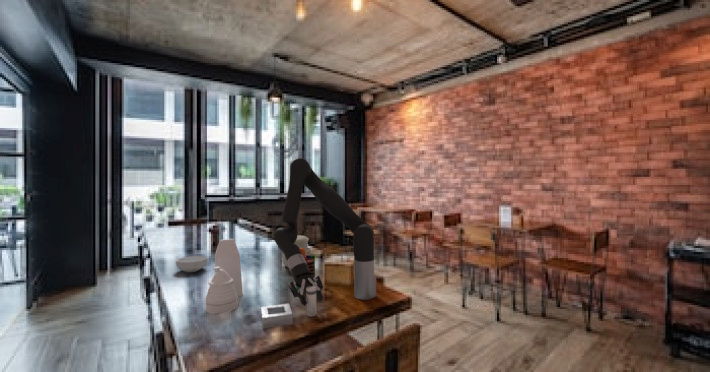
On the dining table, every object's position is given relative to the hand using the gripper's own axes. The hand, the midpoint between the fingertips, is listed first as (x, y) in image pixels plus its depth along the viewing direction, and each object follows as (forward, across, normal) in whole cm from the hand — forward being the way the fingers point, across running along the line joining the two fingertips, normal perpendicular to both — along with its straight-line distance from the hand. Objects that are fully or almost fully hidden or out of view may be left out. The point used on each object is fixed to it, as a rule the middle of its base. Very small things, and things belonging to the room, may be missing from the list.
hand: (313, 302), depth 139 cm
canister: (-47, +30, +55) cm, 78 cm away
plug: (+3, 0, +5) cm, 6 cm away
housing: (0, -14, +8) cm, 16 cm away
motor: (-18, +14, +26) cm, 34 cm away
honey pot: (-19, -26, +27) cm, 42 cm away
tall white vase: (-30, -18, +38) cm, 52 cm away
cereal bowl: (-68, -22, +76) cm, 105 cm away
